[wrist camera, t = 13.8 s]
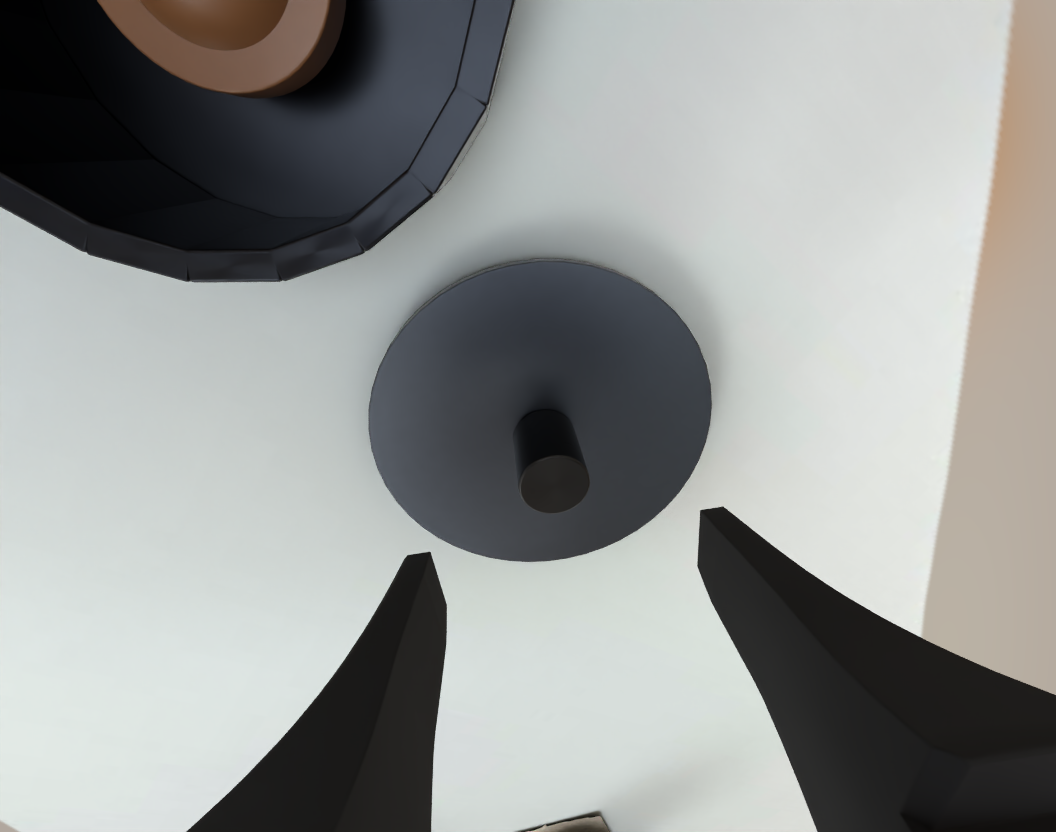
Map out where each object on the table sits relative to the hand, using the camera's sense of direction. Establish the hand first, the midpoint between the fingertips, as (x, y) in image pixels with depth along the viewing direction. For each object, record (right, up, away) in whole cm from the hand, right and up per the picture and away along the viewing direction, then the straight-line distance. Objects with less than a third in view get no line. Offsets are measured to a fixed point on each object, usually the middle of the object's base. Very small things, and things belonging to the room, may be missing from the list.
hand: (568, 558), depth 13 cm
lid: (0, +3, +6) cm, 7 cm away
